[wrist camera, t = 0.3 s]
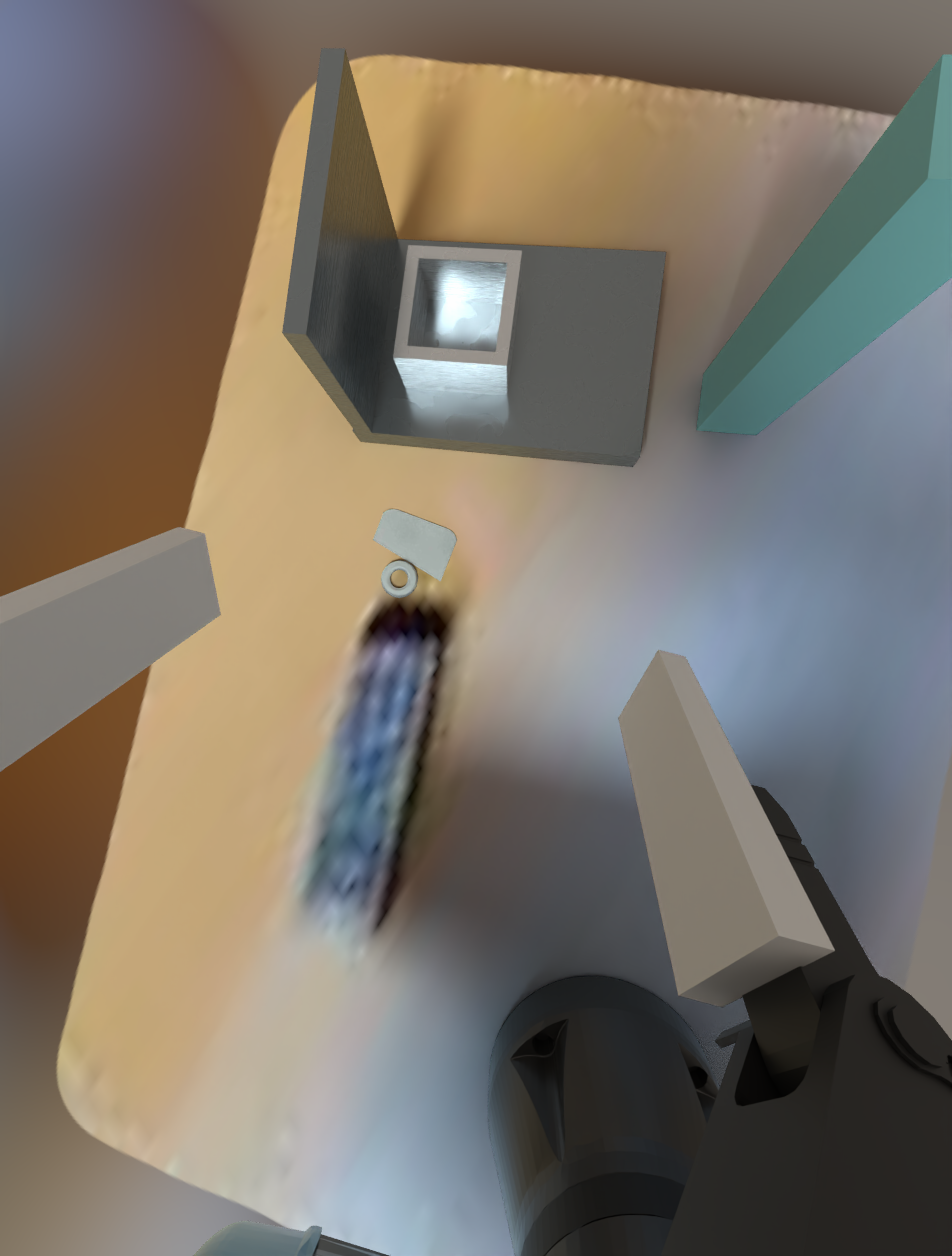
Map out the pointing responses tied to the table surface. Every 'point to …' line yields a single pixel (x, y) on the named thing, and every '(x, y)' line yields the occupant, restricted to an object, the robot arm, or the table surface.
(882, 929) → the table surface
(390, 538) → the mounting bracket
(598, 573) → the table surface
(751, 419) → the teal block
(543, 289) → the cup bracket
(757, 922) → the robot arm
